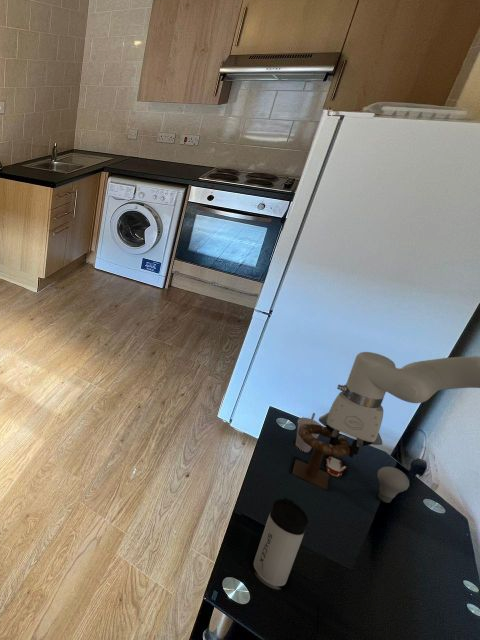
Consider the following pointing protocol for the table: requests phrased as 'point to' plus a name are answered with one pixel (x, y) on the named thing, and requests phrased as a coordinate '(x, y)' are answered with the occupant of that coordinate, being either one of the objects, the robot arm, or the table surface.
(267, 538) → the travel mug
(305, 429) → the ring
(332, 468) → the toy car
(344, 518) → the table surface
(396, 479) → the lightbulb
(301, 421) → the smoothie
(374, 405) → the robot arm
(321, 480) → the brown t-shaped piece
